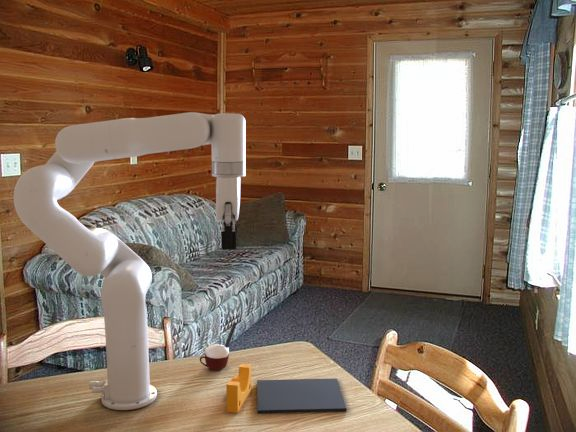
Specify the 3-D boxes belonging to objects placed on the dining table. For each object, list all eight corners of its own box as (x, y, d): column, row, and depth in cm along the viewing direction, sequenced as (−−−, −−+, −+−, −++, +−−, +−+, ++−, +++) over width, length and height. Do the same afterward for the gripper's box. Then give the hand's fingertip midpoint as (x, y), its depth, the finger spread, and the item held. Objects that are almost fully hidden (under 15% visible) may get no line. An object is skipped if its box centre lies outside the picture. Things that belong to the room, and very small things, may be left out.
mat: (257, 413, 138) (257, 410, 138) (257, 383, 154) (257, 380, 154) (346, 411, 140) (346, 408, 139) (336, 381, 155) (337, 378, 155)
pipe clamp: (234, 388, 151) (234, 363, 150) (251, 389, 150) (251, 364, 149) (219, 410, 140) (218, 383, 139) (237, 412, 139) (237, 385, 138)
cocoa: (199, 372, 160) (198, 328, 158) (202, 362, 167) (201, 319, 165) (235, 372, 160) (235, 328, 158) (237, 363, 167) (237, 320, 165)
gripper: (214, 166, 147) (215, 237, 149) (209, 173, 129) (210, 253, 132) (246, 166, 147) (246, 237, 150) (245, 173, 130) (245, 252, 133)
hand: (229, 244), depth 141 cm, fingers open, 9 cm apart
